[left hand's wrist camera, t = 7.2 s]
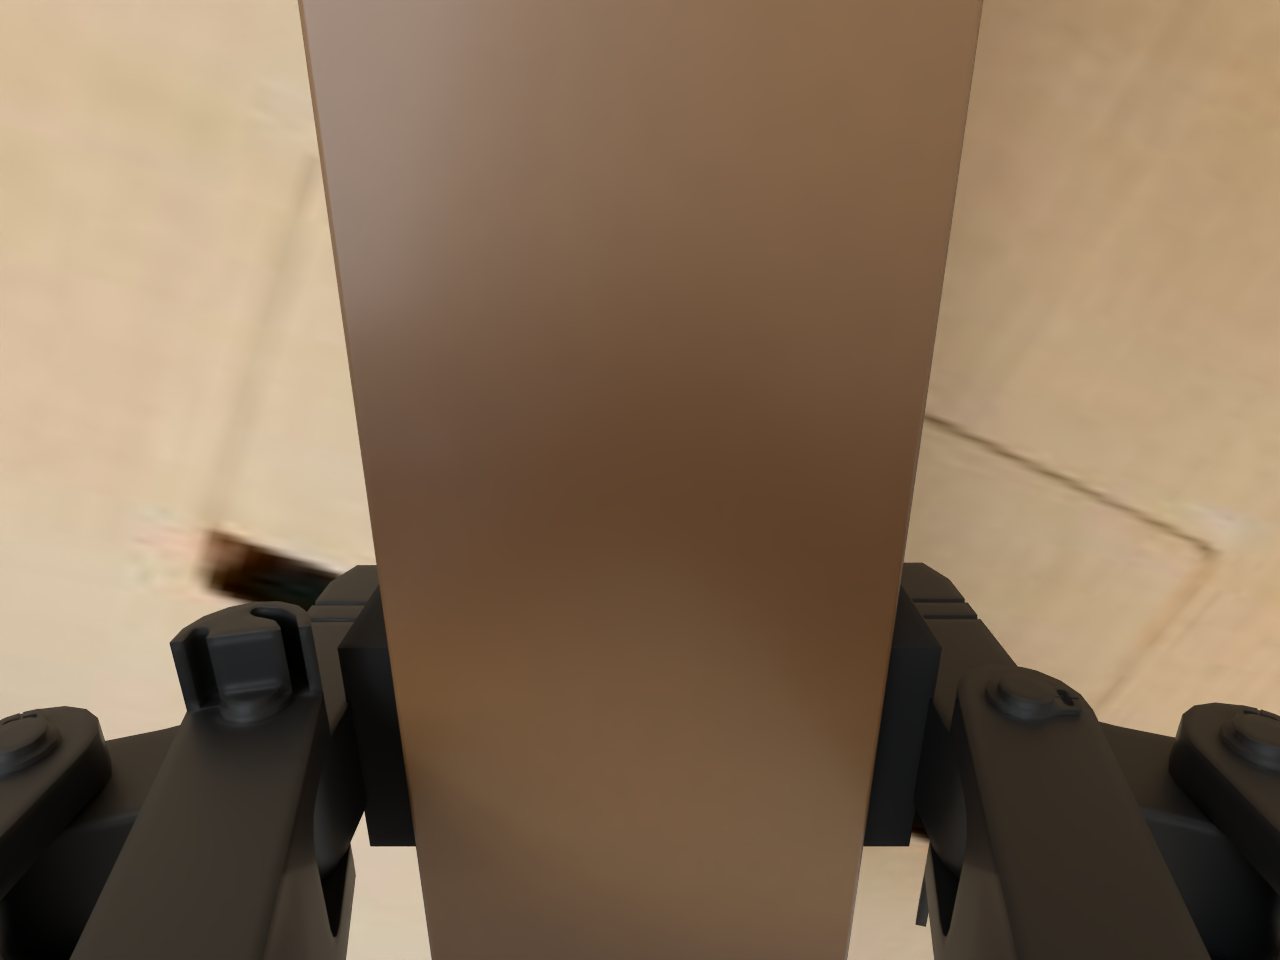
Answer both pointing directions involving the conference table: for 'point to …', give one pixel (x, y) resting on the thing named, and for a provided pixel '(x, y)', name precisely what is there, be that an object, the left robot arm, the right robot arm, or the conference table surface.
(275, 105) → the conference table surface
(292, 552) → the conference table surface
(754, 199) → the bar
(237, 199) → the conference table surface
